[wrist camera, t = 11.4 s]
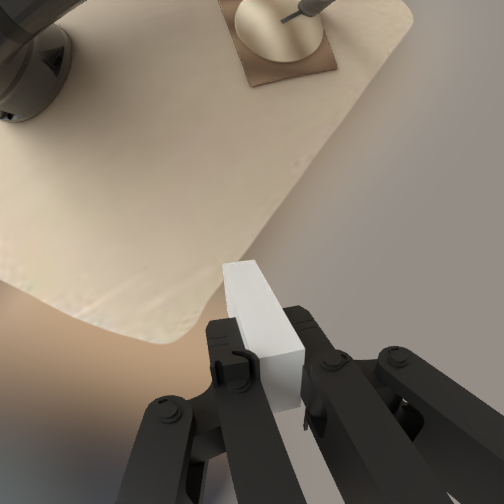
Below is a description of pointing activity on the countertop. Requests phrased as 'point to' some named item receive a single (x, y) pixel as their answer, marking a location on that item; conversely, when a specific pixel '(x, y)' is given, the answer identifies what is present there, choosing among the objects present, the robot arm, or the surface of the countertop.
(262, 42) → the disc with grey post
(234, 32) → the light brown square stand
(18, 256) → the countertop surface
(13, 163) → the countertop surface
